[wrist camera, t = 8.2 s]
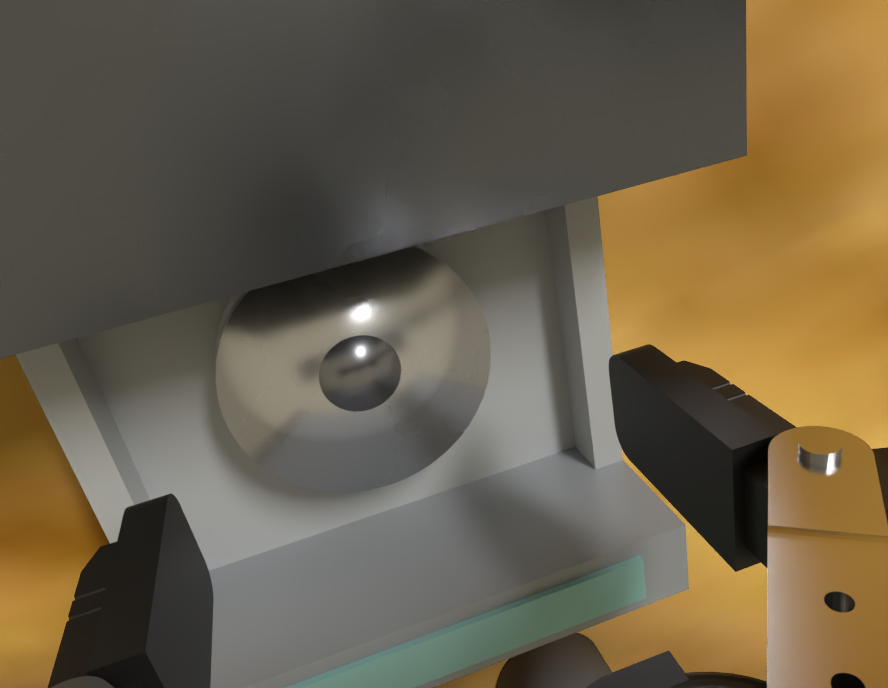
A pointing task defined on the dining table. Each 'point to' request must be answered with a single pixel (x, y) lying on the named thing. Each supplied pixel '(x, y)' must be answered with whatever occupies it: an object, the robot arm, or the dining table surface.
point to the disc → (353, 370)
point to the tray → (392, 486)
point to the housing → (323, 135)
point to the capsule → (556, 665)
